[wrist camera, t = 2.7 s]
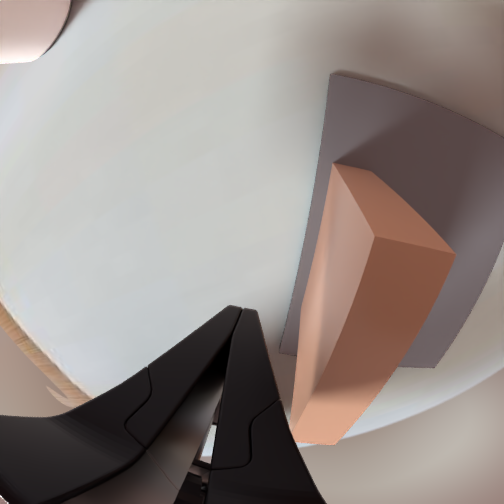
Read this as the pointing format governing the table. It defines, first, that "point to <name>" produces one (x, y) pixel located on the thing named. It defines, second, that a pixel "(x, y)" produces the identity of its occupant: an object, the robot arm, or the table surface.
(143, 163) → the table surface
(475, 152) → the mat
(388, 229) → the tile
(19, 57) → the can
